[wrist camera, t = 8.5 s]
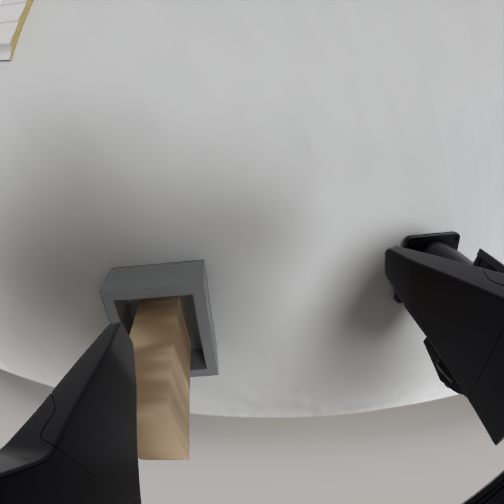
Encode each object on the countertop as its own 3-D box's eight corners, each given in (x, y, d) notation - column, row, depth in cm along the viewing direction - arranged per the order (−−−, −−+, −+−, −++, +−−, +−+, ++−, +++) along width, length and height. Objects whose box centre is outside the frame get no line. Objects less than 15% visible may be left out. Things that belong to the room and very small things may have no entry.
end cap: (204, 259, 22) (203, 282, 19) (216, 347, 26) (218, 374, 23) (111, 268, 21) (99, 291, 18) (138, 352, 25) (133, 378, 22)
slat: (179, 292, 22) (166, 419, 12) (191, 338, 24) (189, 459, 14) (141, 296, 22) (108, 419, 12) (156, 341, 24) (139, 459, 14)
